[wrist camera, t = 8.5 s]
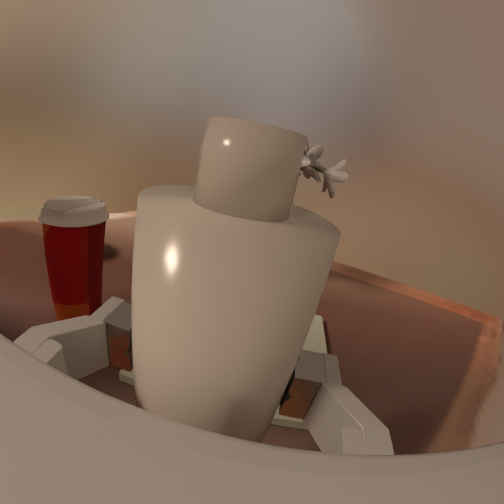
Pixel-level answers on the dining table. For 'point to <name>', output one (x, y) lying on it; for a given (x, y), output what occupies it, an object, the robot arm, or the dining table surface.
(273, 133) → the cream bottle
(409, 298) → the dining table surface
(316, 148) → the flower vase
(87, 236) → the paper cup
